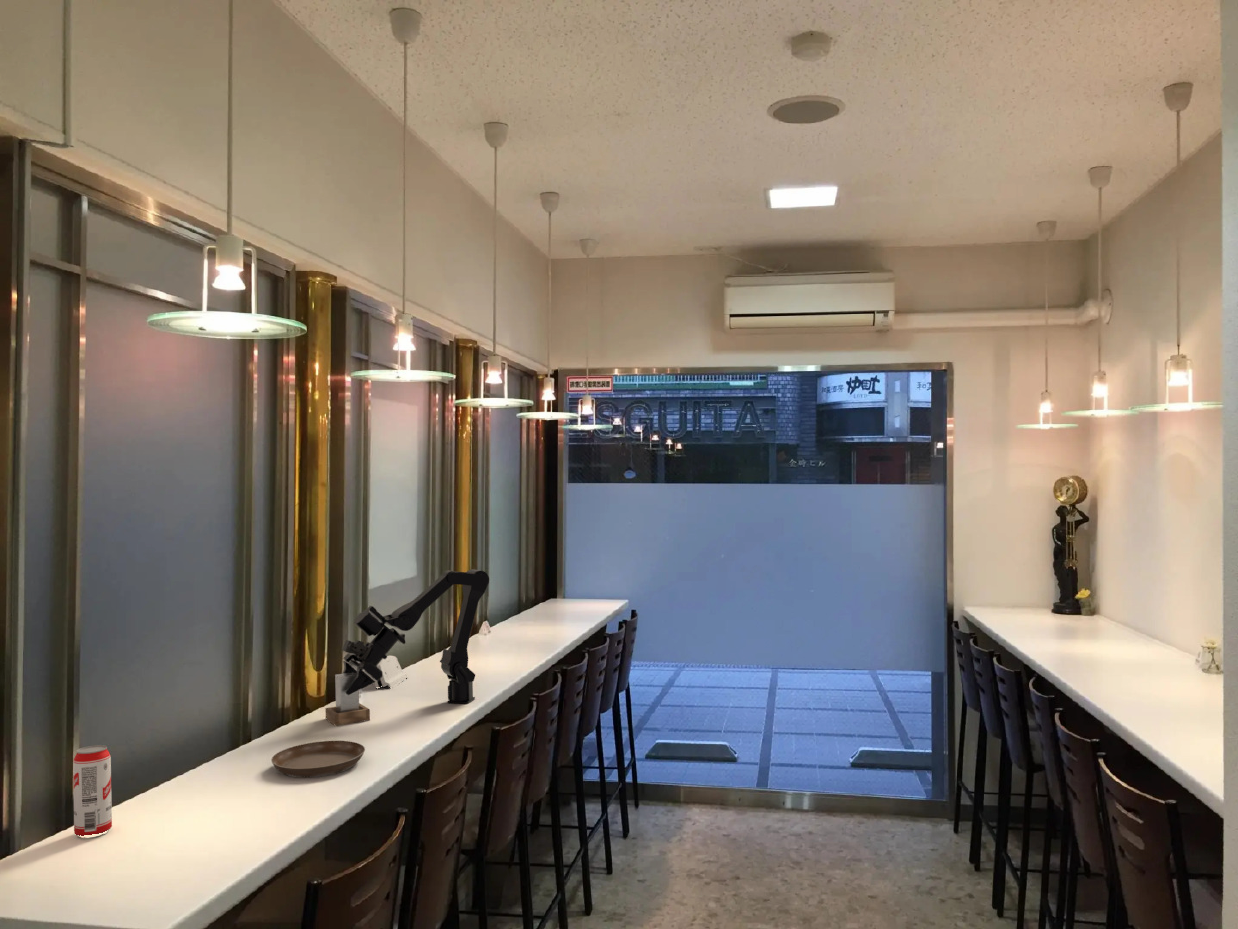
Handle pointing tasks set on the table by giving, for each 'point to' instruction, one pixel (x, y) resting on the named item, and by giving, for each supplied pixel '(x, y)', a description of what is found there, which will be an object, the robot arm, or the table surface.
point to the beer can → (92, 790)
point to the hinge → (390, 672)
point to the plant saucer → (318, 758)
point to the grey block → (342, 699)
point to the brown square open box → (347, 715)
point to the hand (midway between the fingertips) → (342, 691)
